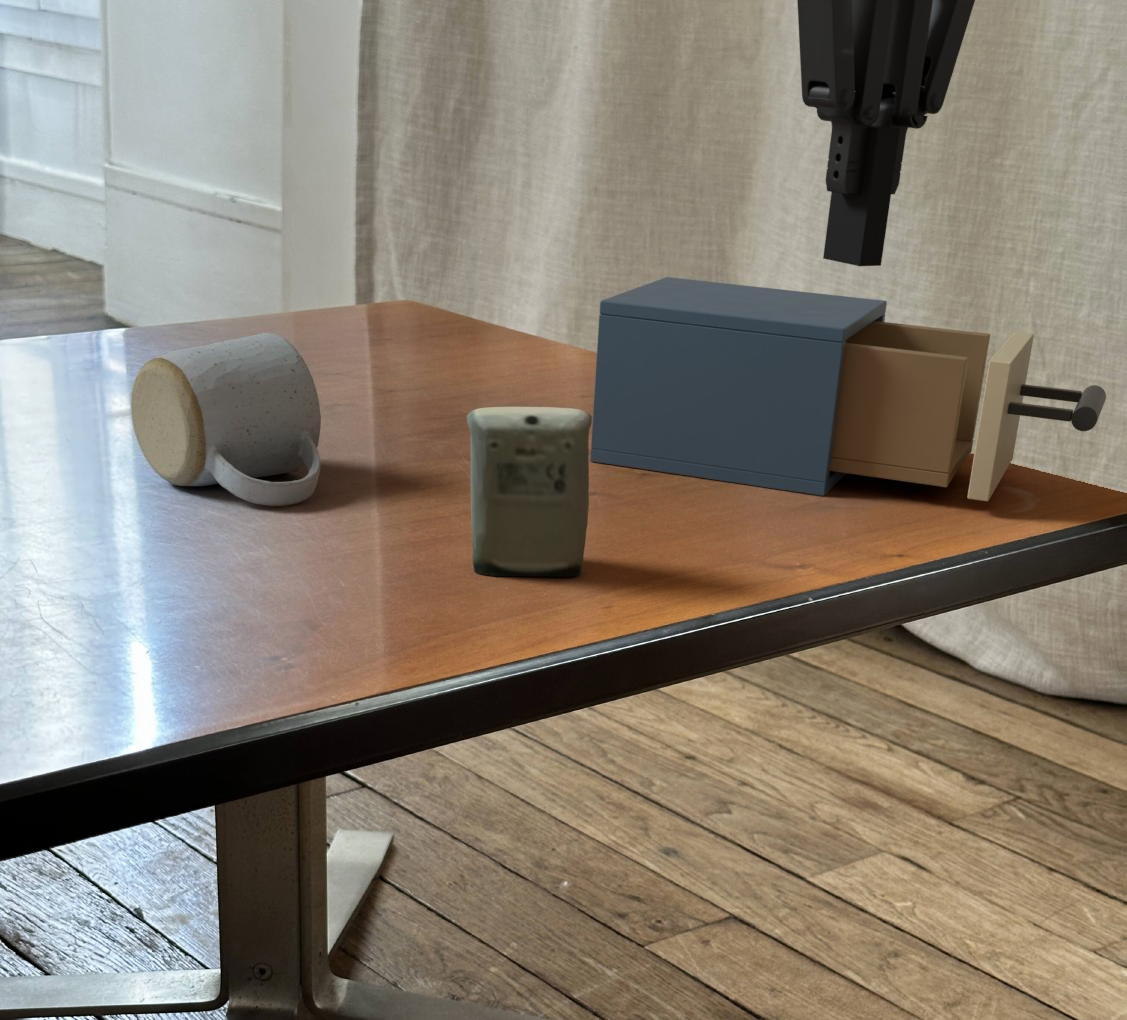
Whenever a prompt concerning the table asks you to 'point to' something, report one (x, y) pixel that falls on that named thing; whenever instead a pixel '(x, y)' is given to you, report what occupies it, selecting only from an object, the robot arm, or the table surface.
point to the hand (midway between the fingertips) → (851, 261)
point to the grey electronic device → (529, 490)
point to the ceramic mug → (231, 418)
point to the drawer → (940, 405)
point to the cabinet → (724, 381)
